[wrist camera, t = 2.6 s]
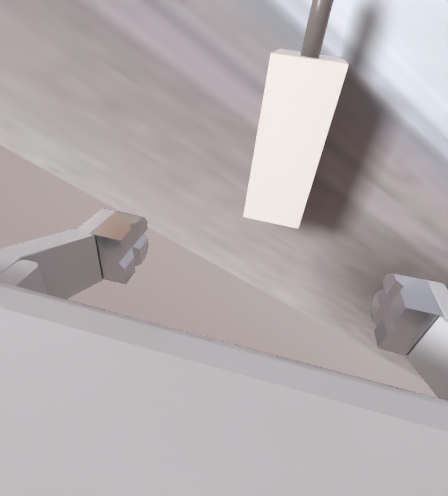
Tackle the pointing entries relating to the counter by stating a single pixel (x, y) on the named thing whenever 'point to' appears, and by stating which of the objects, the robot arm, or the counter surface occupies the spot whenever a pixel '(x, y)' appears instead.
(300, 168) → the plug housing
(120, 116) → the counter surface
